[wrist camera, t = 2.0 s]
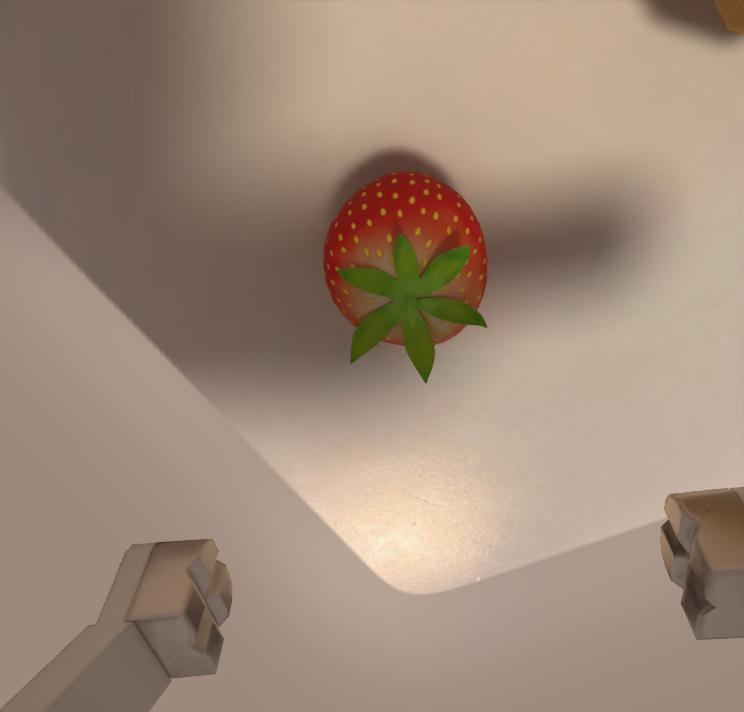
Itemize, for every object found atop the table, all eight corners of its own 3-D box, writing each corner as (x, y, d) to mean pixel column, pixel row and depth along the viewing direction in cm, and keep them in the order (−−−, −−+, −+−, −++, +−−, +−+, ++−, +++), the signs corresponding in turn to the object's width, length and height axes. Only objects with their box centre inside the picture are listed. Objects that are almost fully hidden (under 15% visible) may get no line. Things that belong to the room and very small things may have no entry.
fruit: (303, 205, 24) (274, 319, 17) (409, 107, 22) (423, 195, 15) (397, 298, 26) (404, 430, 19) (502, 218, 24) (548, 336, 17)
